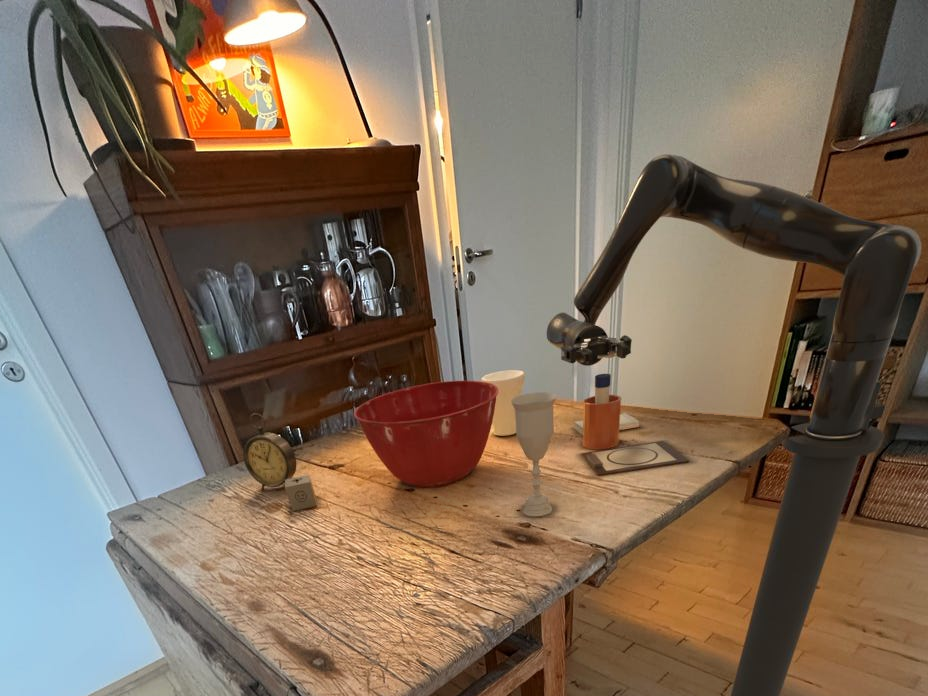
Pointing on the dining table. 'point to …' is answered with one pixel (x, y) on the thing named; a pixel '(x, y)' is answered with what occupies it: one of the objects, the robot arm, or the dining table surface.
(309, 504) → the grey cube
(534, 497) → the chalice
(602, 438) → the pen cup
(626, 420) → the hard drive
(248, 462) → the alarm clock
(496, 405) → the cup
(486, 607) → the dining table surface
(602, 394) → the marker
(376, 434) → the mixing bowl
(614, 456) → the brown tray
